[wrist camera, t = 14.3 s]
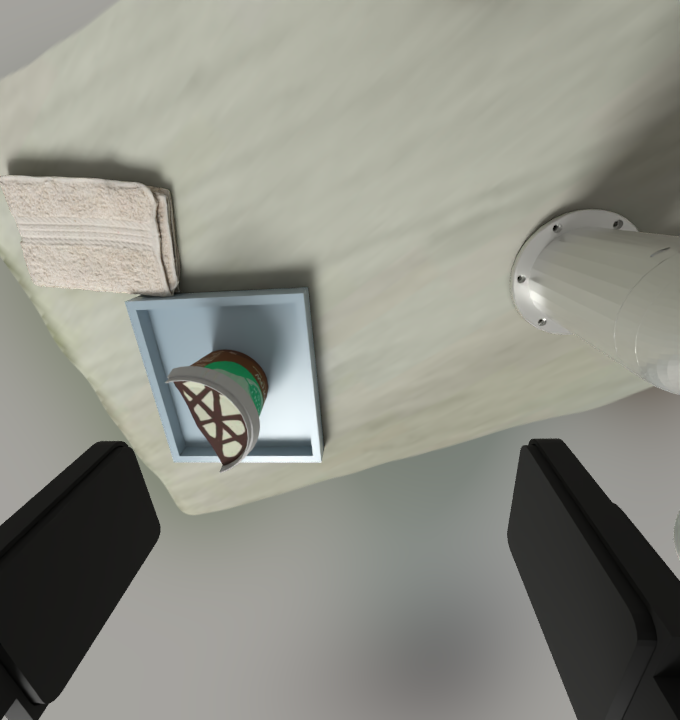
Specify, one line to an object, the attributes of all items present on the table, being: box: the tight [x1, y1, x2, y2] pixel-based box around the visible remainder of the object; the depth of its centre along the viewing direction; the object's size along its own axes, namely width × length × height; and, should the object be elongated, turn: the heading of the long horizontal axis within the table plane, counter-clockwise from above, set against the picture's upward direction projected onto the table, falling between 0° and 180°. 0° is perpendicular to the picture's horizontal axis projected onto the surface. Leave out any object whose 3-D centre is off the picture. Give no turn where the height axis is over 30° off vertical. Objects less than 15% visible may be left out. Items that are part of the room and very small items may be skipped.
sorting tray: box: [125, 287, 324, 462], centre depth 45 cm, size 20×22×3 cm
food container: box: [165, 349, 268, 473], centre depth 40 cm, size 12×6×10 cm, turn 20°
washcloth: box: [0, 175, 181, 297], centre depth 39 cm, size 12×18×3 cm, turn 88°
